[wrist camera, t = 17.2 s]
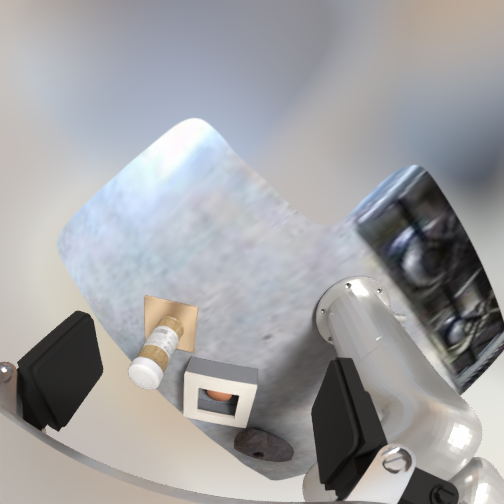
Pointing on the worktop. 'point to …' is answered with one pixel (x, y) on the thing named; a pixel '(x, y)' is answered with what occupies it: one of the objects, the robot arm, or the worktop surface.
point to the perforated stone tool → (263, 446)
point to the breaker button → (219, 395)
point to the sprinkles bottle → (156, 354)
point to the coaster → (182, 312)
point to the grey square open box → (223, 381)
